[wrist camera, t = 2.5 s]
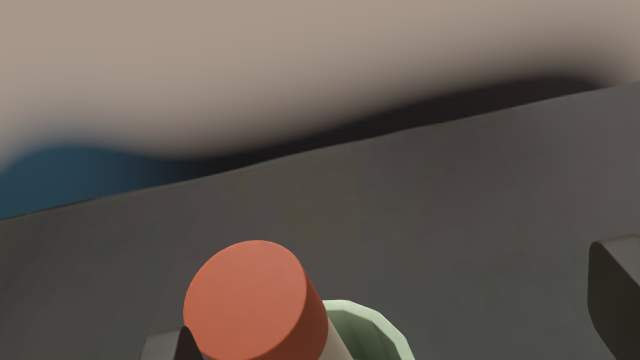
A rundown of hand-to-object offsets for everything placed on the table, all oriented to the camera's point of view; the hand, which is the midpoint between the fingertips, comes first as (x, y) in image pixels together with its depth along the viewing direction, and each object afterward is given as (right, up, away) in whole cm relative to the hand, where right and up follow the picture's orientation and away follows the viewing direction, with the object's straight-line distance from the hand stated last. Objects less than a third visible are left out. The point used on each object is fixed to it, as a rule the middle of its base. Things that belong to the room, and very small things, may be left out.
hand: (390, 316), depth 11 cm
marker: (+1, -12, +20) cm, 24 cm away
